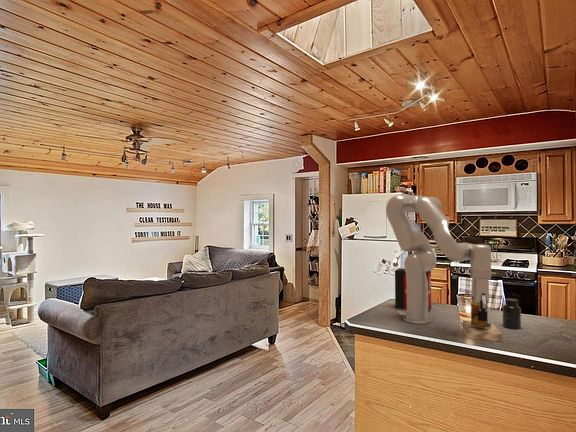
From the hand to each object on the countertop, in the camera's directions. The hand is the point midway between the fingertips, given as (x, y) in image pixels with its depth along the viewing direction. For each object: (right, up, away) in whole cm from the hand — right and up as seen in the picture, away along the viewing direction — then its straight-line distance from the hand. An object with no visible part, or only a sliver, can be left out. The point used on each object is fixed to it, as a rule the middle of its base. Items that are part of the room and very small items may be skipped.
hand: (480, 317), depth 151 cm
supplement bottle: (+19, -7, +10) cm, 22 cm away
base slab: (0, -7, 0) cm, 7 cm away
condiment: (0, -3, +1) cm, 3 cm away
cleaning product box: (-13, -7, +43) cm, 45 cm away
